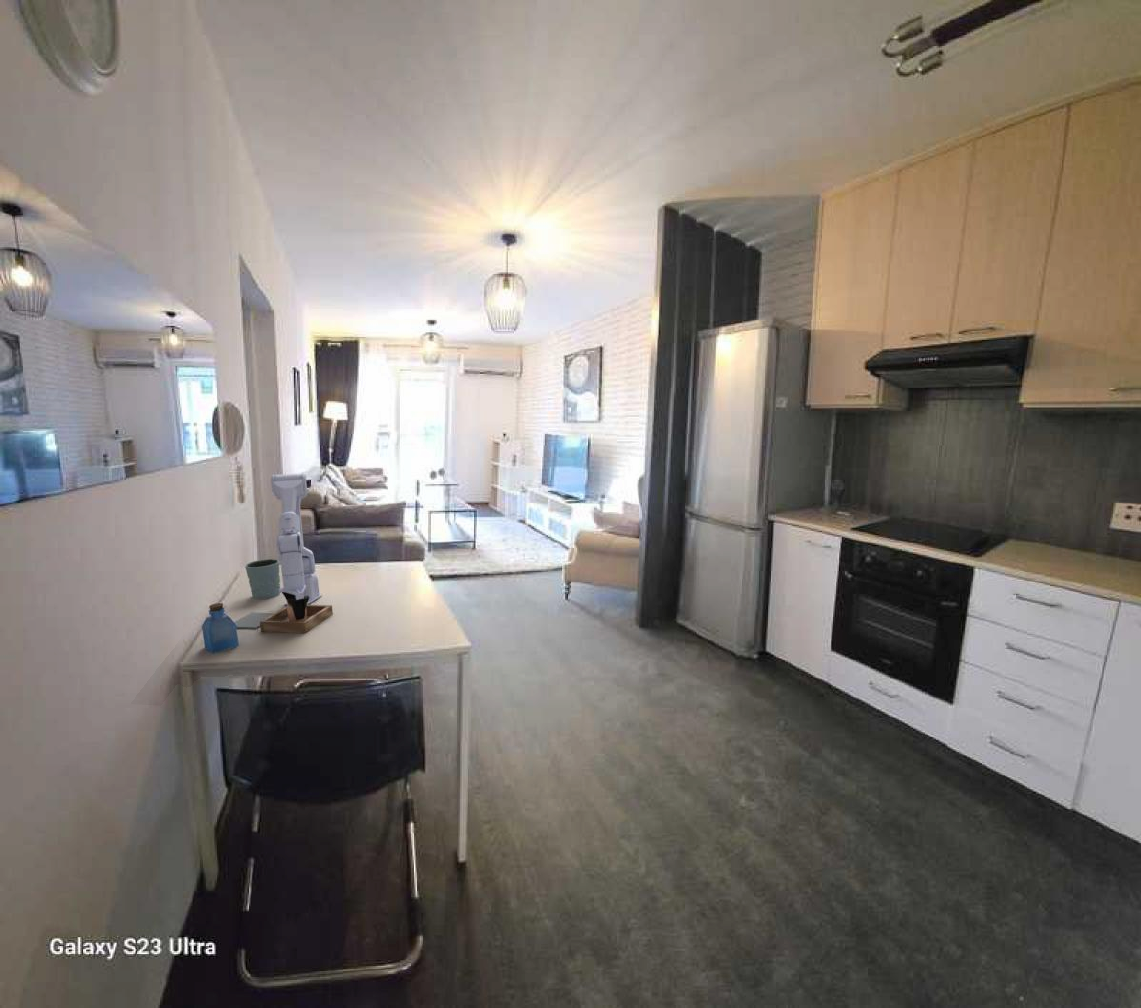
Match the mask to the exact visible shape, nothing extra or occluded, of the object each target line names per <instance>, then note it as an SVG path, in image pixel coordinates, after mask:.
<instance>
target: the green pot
mask: <svg viewBox="0 0 1141 1008" xmlns="http://www.w3.org/2000/svg"><path fill="white" fill-rule="evenodd" d="M244 567H245V571H246V574H247V579H248V583H249V587H250V590H251V595H252V598H253V600H267V599H271V598H272V599H273V598H274V597H278V596H279V595H280V594H281V592H279V589H281V584H280V582H281V581H280V580H281V579H280V577H281V576H280V560H279V559H275V558H266V559H265V558H264V559H259V560H253V561H251V562H248V563H246V564H245V566H244Z"/></svg>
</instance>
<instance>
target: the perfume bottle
mask: <svg viewBox="0 0 1141 1008" xmlns="http://www.w3.org/2000/svg"><path fill="white" fill-rule="evenodd" d="M208 608H209V610H208V614H209V616H207V617H205V620H204V621H203V624H202V625H201V629H202V635H203V636H202V637H203V643H204V648H205V649H206V650H208V651H209V652H210V653H211V654H216V653H219V652H222V651H226V650H229V649H232V648H235V647H238V646H239V638H238V632H237V628H236V624H235V623H234V622H235V621H233V620H232V618H231V617H230V616H229V615H228V614H226V613H225V607H224V603H223V602H218V603H213V604H210V605H209V606H208Z"/></svg>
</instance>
